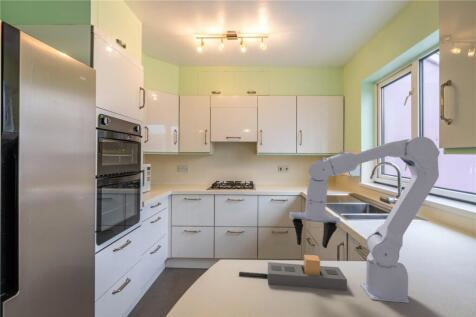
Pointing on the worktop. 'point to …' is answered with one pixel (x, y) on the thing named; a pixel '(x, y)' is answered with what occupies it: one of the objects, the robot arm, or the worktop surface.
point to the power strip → (302, 276)
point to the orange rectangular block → (311, 265)
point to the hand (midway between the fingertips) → (311, 245)
